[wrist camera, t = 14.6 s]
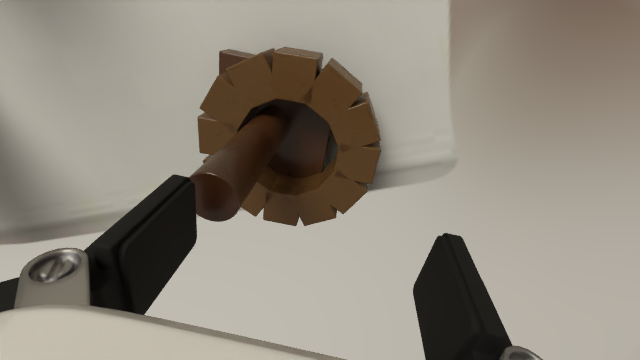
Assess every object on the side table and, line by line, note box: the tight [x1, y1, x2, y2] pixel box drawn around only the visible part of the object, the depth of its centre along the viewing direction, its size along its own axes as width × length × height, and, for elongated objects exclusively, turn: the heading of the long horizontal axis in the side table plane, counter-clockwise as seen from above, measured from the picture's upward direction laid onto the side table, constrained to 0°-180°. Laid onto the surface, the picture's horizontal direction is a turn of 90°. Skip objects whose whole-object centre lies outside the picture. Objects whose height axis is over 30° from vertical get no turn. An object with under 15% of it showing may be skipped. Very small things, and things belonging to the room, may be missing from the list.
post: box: [189, 49, 331, 222], centre depth 17 cm, size 8×8×12 cm
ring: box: [198, 47, 381, 226], centre depth 20 cm, size 12×12×3 cm
